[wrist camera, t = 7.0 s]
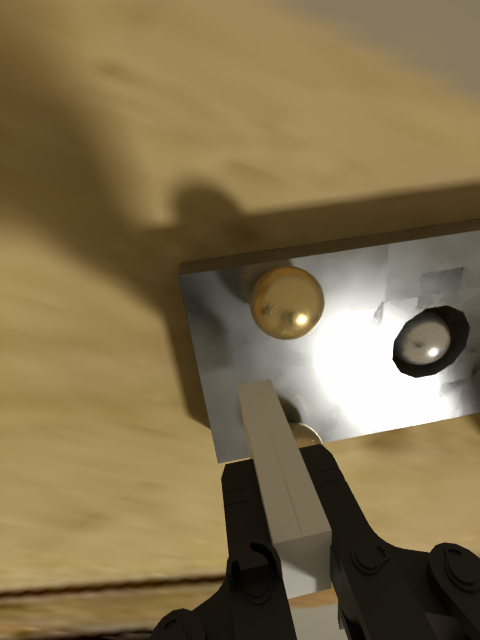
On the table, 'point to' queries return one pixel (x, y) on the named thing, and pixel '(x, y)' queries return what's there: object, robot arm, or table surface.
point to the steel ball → (422, 339)
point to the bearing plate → (342, 334)
